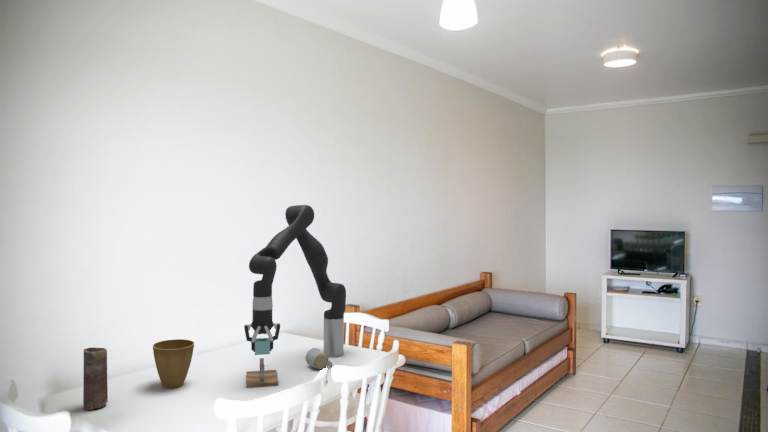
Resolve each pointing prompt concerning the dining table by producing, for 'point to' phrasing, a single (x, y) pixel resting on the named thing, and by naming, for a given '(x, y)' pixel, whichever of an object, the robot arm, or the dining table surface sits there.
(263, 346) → the collar block
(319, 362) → the ceramic mug
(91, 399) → the candle
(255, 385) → the pin board
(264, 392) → the dining table surface
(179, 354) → the plant pot
